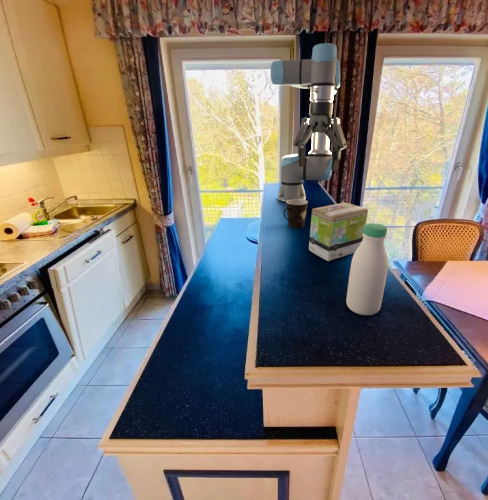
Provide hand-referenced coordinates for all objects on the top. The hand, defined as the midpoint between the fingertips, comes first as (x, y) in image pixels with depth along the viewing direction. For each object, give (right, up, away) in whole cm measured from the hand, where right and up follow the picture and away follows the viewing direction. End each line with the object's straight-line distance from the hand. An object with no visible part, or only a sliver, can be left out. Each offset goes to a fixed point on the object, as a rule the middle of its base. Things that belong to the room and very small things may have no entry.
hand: (317, 168), depth 101 cm
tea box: (+5, -30, -8) cm, 32 cm away
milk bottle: (+5, -43, -35) cm, 56 cm away
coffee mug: (-8, -20, +14) cm, 26 cm away
